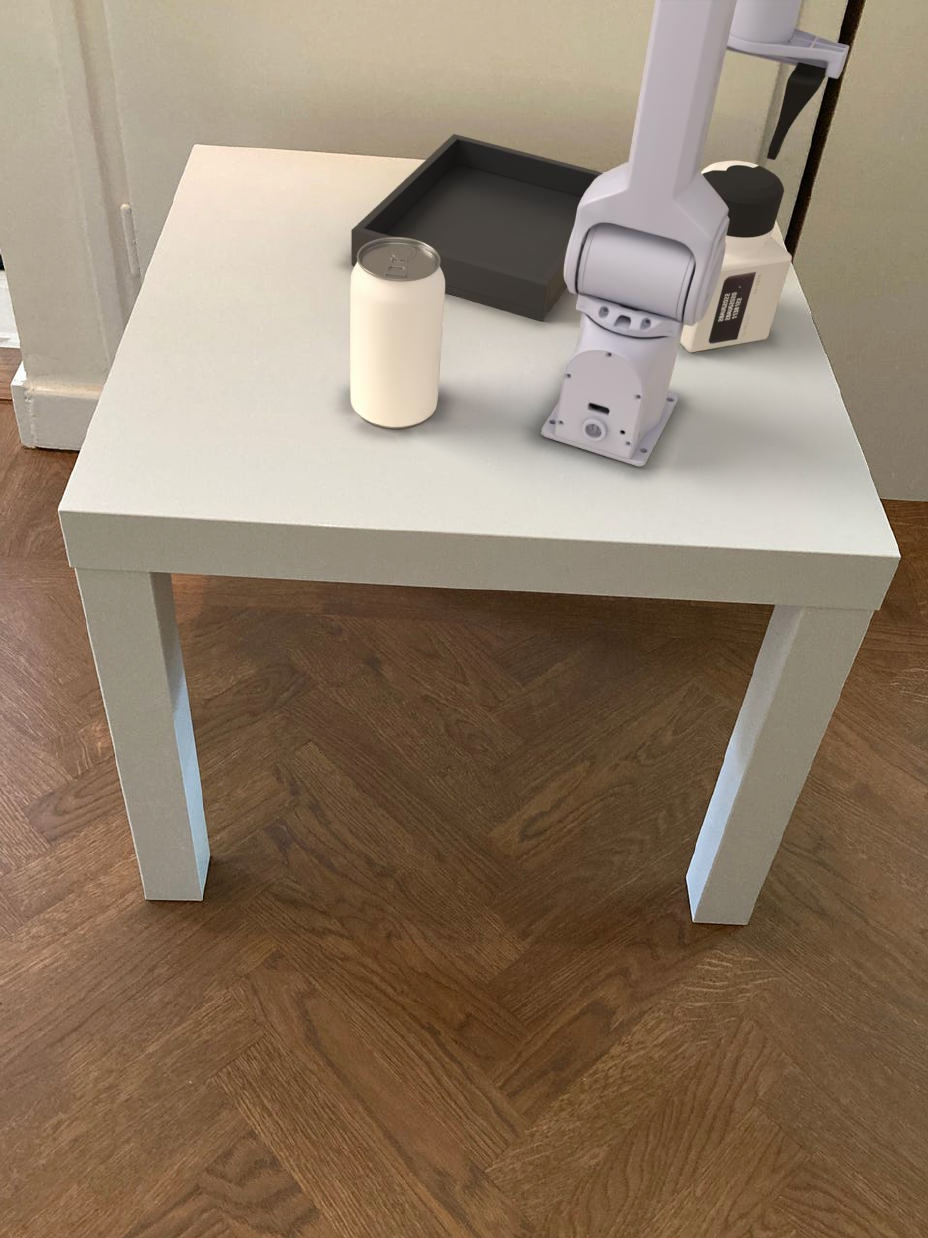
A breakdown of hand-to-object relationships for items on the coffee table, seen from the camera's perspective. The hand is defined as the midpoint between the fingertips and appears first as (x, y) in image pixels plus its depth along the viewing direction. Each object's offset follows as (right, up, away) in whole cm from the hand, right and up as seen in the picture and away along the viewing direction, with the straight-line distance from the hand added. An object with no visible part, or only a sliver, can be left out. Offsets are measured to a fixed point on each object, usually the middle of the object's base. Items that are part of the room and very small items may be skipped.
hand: (728, 143), depth 98 cm
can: (-28, -25, -12) cm, 39 cm away
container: (-2, -16, -1) cm, 16 cm away
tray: (-20, -6, +6) cm, 22 cm away
